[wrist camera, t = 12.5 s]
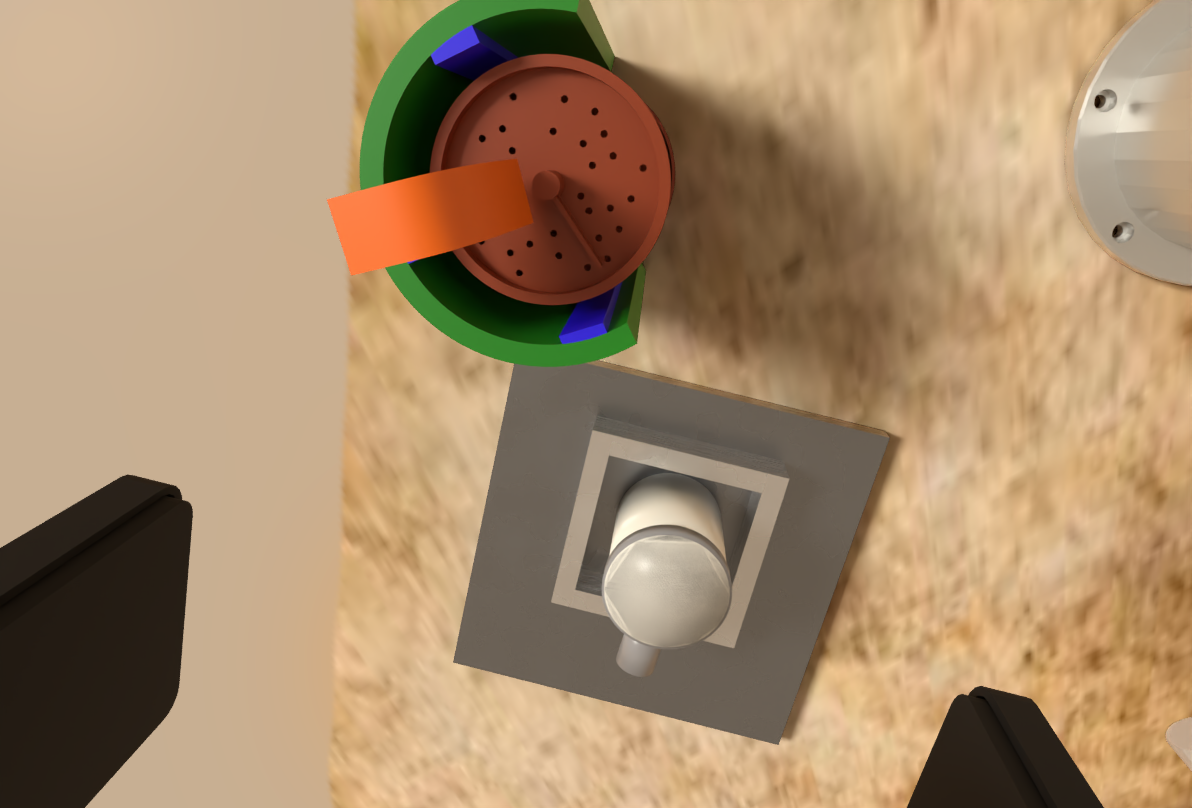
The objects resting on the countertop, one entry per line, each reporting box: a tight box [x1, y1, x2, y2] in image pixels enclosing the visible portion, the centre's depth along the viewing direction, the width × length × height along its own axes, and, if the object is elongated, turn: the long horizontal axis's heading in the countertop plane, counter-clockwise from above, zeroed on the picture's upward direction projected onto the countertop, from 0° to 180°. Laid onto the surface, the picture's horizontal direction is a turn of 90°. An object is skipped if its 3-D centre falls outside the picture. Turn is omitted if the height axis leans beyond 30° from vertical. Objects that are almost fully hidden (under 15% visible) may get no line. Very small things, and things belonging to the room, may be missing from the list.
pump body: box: [602, 473, 732, 677], centre depth 38 cm, size 5×8×7 cm
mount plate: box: [453, 360, 890, 745], centre depth 41 cm, size 18×18×3 cm
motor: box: [327, 0, 675, 367], centre depth 28 cm, size 10×9×20 cm
